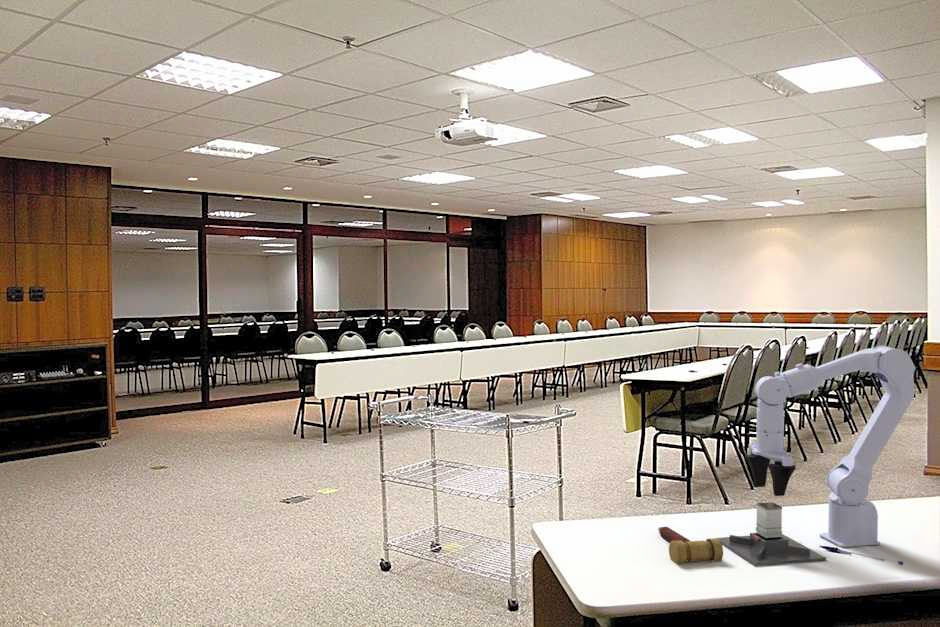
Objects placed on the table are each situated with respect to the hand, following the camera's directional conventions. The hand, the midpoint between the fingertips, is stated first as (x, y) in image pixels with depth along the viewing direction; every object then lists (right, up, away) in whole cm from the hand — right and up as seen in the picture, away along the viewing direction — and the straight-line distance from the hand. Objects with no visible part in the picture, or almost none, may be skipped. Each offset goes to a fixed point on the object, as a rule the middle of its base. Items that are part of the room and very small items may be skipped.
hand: (769, 490), depth 176 cm
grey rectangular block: (-3, -8, -8) cm, 12 cm away
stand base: (-3, -11, -8) cm, 14 cm away
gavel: (-22, -11, -6) cm, 25 cm away
